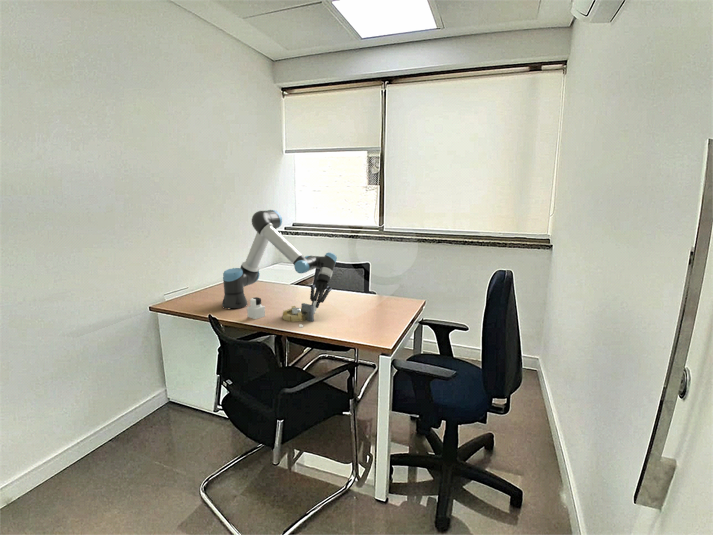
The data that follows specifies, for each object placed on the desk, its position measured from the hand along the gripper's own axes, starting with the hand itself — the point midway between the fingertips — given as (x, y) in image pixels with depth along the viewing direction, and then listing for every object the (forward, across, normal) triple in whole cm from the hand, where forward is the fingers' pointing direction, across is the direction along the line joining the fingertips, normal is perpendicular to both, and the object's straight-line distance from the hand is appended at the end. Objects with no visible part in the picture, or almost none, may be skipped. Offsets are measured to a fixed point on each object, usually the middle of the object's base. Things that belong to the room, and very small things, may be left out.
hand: (312, 312), depth 207 cm
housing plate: (+3, +11, -4) cm, 12 cm away
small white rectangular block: (+12, +2, +4) cm, 13 cm away
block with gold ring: (+3, +8, -3) cm, 9 cm away
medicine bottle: (+8, +33, 0) cm, 34 cm away
